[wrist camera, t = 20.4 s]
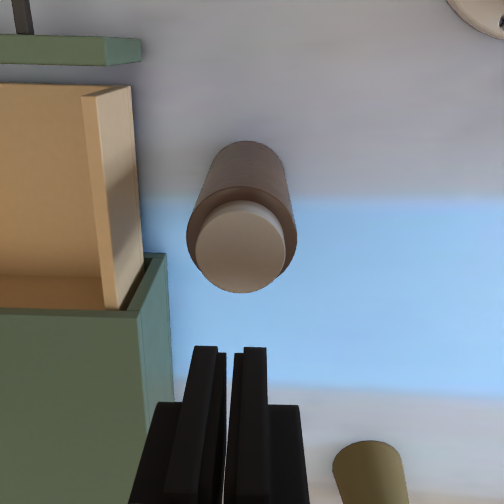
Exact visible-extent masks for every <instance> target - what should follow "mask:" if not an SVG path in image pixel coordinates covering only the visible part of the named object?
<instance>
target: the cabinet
mask: <svg viewBox="0 0 504 504" xmlns="http://www.w3.org/2000/svg"><path fill="white" fill-rule="evenodd" d="M143 257H144V270H145V275H144V277H143V279H142V281H141V283H140V285H139V287H138V289H137V291H136V293H135V295H134V297H133V299H132V301H131V303H130V305H129V307H128V309H127V311H111V310H75V309H40V308H4V307H0V504H128V501H129V497H130V494H131V490H132V487H133V483H134V480H135V476H136V473H137V469H138V466H139V462H140V459H141V455H142V452H143V448H144V445H145V441H146V438H147V434H148V431H149V428H150V424H151V421H152V417H153V414H154V410H155V407H156V404H157V403H158V402H174V389H173V370H172V352H171V334H170V315H169V297H168V278H167V260H166V253H143Z"/></svg>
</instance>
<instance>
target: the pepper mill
mask: <svg viewBox="0 0 504 504" xmlns="http://www.w3.org/2000/svg"><path fill="white" fill-rule="evenodd" d="M186 241H187V247H188V251H189V254H190V256H191V258H192V260H193V262H194V264H195V265H196V266H197V268H198V269H199V270H200V271H201V272H202V274H203V275H204V276H205V277H206V278H207V279H208V280H209V281H210V282H211V283H212V284H213V285H215V286H217V287H218V288H220V289H222V290H225V291H228V292H233V293H249V292H254V291H257V290H260V289H262V288H264V287H266V286H267V285H269V284H270V283H271V282H272V281H273V280H274V279H275V278H277V277H278V276H279V275H281V274H282V273H283V272H284V271H285V269H286V268H287V267H288V266H289V264H290V262H291V261H292V259H293V256H294V254H295V250H296V246H297V231H296V225H295V220H294V215H293V210H292V205H291V200H290V195H289V190H288V185H287V181H286V176H285V171H284V167H283V165H282V162H281V160H280V159H279V157H278V156H277V155H276V154H275V153H274V152H273V151H272V150H271V149H270V148H268V147H267V146H265V145H263V144H261V143H258V142H253V141H241V142H236V143H233V144H231V145H229V146H227V147H225V148H224V149H223V150H221V151H220V152H219V153H218V154H217V156H216V157H215V159H214V160H213V162H212V164H211V167H210V169H209V172H208V174H207V177H206V179H205V182H204V184H203V187H202V189H201V192H200V194H199V197H198V199H197V202H196V204H195V207H194V209H193V212H192V214H191V217H190V219H189V222H188V226H187V231H186Z"/></svg>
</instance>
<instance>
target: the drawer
mask: <svg viewBox="0 0 504 504" xmlns="http://www.w3.org/2000/svg"><path fill="white" fill-rule="evenodd" d="M11 1H12V7H13V14H14V20H15V26H16V32H17V34H0V64H38V65H75V66H112V65H119V64H127V63H134V62H141V61H142V54H141V40H140V39H135V38H117V37H95V36H57V35H34V30H33V23H32V17H31V10H30V3H29V0H11ZM144 275H145V270H144V257H143V244H142V231H141V218H140V204H139V191H138V178H137V165H136V152H135V138H134V125H133V112H132V99H131V87H130V86H125V85H87V84H50V83H13V82H0V307H4V308H40V309H75V310H111V311H127V309H128V307H129V305H130V303H131V301H132V299H133V297H134V295H135V293H136V291H137V289H138V287H139V285H140V283H141V281H142V279H143V277H144Z"/></svg>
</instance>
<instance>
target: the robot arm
mask: <svg viewBox="0 0 504 504" xmlns="http://www.w3.org/2000/svg"><path fill="white" fill-rule="evenodd" d="M447 1H448V3H449V4H450V6H451V7H452V8H453V9H454V10H455V11H456V12H457V14H458V15H459V16H460V17H461V18H462V19H463V20H464V21H466V22H467V23H468V24H470V25H471V26H473V27H474V28H475V29H477V30H478V31H480V32H482V33H485V34H487V35H490V36H492V37H495V38H497V39H503V40H504V22H503V25H502V26H501V27H500V26H499V21H500V18H501V17H502V18H503V20H504V0H447ZM225 458H226V467H225ZM224 470H225V480H224ZM223 482H224V504H310V502H309V492H308V483H307V474H306V465H305V456H304V447H303V438H302V429H301V420H300V411H299V406H298V405H268V396H267V354H266V348H263V347H244V353H235V354H234V367H233V379H232V392H231V404H230V417H229V429H228V442H227V455H226V353H219V352H218V347H217V346H194V350H193V355H192V359H191V364H190V369H189V373H188V378H187V382H186V387H185V392H184V396H183V401H182V402H158V403H157V404H156V407H155V410H154V414H153V417H152V421H151V424H150V428H149V431H148V434H147V438H146V441H145V445H144V448H143V452H142V455H141V459H140V462H139V466H138V469H137V473H136V476H135V480H134V483H133V487H132V490H131V494H130V497H129V501H128V504H222V494H223Z"/></svg>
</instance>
